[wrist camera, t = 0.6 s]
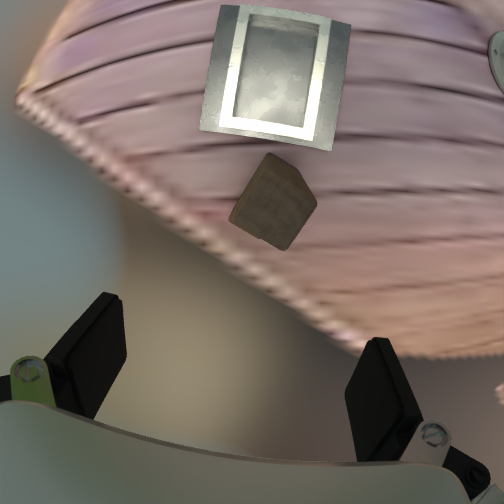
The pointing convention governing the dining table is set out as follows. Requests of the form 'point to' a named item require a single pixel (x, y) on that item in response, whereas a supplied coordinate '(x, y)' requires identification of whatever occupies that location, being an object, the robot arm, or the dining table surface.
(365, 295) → the dining table surface
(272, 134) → the end cap
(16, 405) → the robot arm
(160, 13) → the dining table surface
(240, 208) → the wooden block
